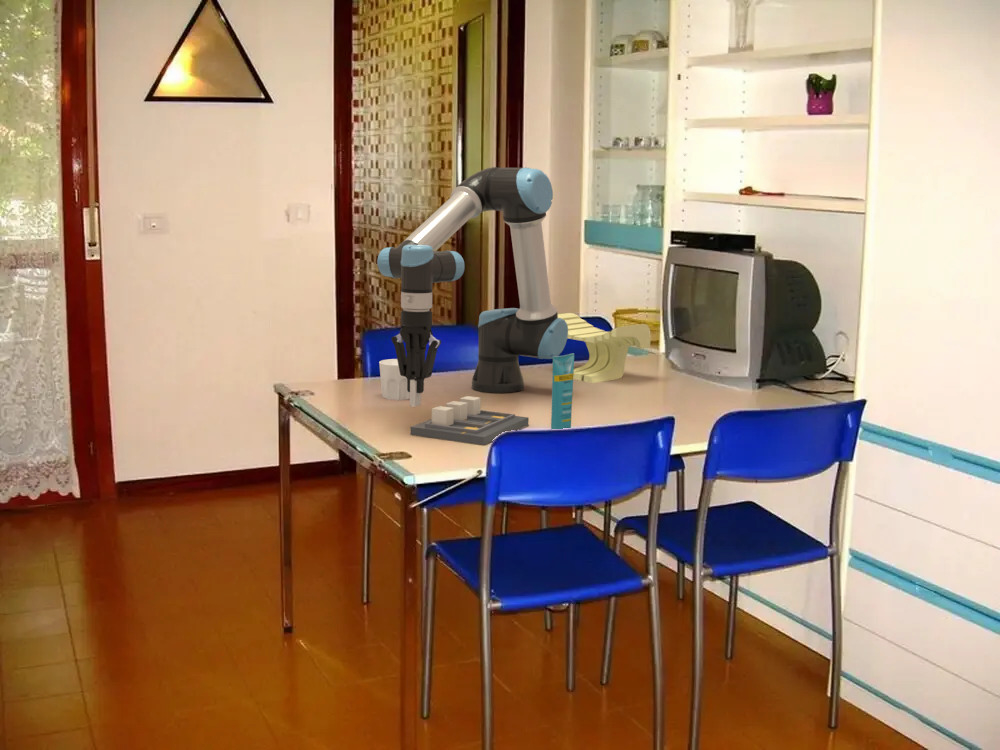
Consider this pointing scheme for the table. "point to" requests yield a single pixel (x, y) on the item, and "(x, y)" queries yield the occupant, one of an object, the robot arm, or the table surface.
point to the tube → (562, 391)
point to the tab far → (472, 404)
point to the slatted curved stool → (605, 347)
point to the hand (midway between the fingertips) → (415, 405)
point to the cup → (392, 381)
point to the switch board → (472, 427)
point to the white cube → (442, 415)
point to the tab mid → (458, 409)
